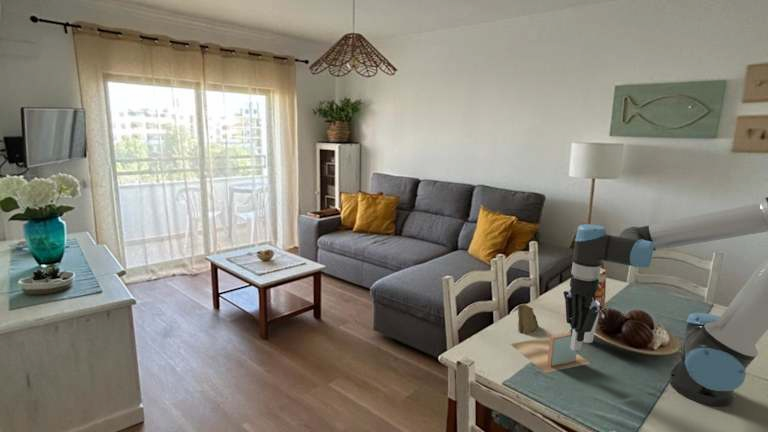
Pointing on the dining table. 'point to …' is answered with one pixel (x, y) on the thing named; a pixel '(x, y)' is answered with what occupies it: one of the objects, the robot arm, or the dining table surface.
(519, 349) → the mat
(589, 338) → the drinking glass
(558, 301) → the dining table surface
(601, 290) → the milk carton
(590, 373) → the dining table surface
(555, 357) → the tile
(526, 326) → the rock
